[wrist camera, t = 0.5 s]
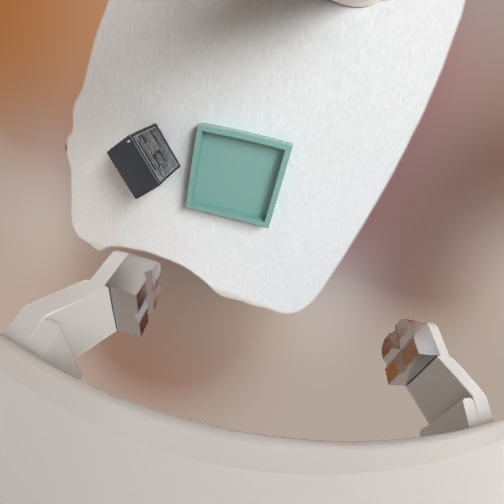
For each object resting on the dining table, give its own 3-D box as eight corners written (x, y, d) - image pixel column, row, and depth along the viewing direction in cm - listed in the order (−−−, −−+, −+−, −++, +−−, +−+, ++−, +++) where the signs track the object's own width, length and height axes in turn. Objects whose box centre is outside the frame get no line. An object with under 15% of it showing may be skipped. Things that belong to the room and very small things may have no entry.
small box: (132, 138, 50) (104, 152, 42) (156, 122, 48) (129, 132, 39) (157, 180, 55) (134, 200, 46) (181, 166, 53) (161, 185, 44)
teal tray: (201, 122, 47) (197, 124, 45) (292, 143, 48) (292, 146, 46) (189, 202, 57) (185, 207, 55) (269, 221, 58) (268, 228, 56)
